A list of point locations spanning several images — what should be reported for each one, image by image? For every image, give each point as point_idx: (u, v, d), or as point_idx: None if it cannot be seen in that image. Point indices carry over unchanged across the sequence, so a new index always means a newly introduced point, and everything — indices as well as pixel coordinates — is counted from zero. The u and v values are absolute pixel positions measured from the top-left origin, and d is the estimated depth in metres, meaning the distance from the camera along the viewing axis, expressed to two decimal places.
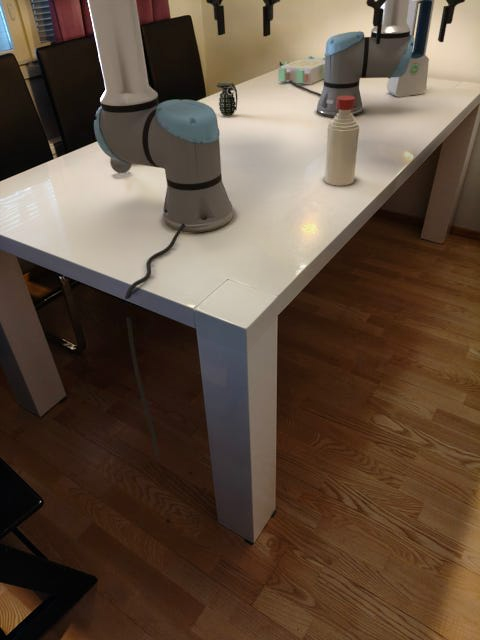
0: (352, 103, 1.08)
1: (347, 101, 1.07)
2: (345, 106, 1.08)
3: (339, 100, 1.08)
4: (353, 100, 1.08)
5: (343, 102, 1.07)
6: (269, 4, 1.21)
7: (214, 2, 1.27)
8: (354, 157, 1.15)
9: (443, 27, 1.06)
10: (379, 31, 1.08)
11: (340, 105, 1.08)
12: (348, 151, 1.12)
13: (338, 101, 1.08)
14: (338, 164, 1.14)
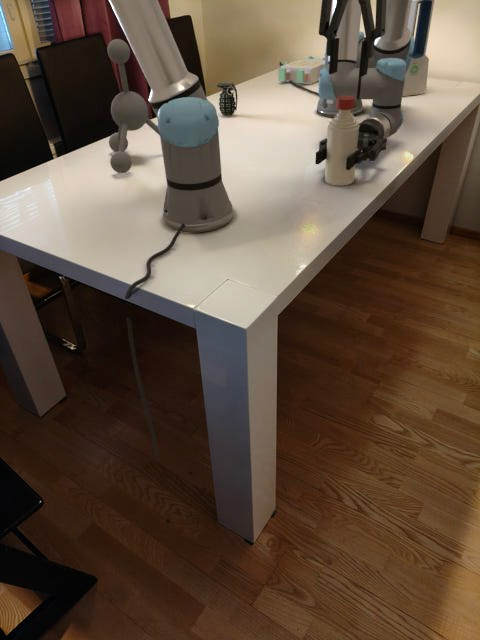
0: (352, 103, 1.08)
1: (347, 101, 1.07)
2: (345, 106, 1.08)
3: (339, 100, 1.08)
4: (353, 100, 1.08)
5: (343, 102, 1.07)
6: None
7: None
8: None
9: None
10: None
11: (340, 105, 1.08)
12: (348, 151, 1.12)
13: (338, 101, 1.08)
14: (338, 164, 1.14)
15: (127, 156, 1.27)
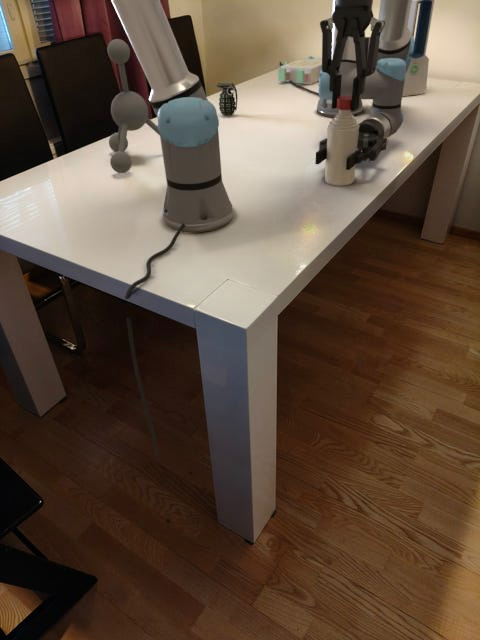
0: None
1: (347, 101, 1.07)
2: (345, 106, 1.08)
3: (339, 100, 1.08)
4: None
5: (343, 102, 1.07)
6: None
7: None
8: None
9: None
10: None
11: (340, 105, 1.08)
12: (348, 151, 1.12)
13: (338, 101, 1.08)
14: (337, 164, 1.14)
15: (127, 156, 1.27)
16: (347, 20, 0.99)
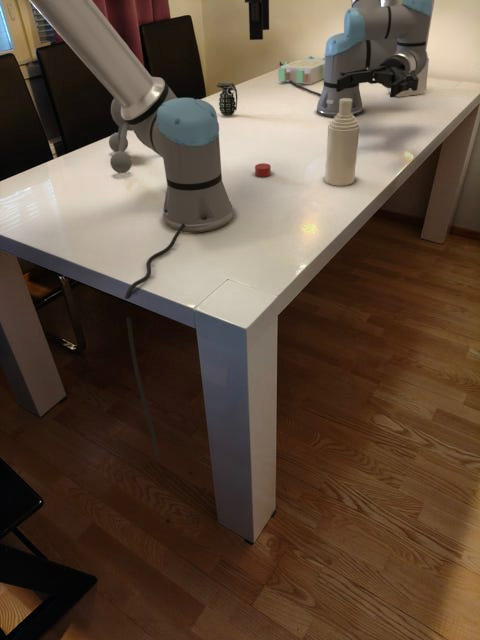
0: None
1: None
2: (270, 170, 1.25)
3: (268, 168, 1.23)
4: None
5: (270, 168, 1.24)
6: (248, 0, 0.96)
7: None
8: (354, 157, 1.15)
9: None
10: None
11: (269, 172, 1.24)
12: (348, 151, 1.12)
13: (267, 170, 1.23)
14: (338, 164, 1.14)
15: (127, 156, 1.27)
16: None
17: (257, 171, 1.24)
